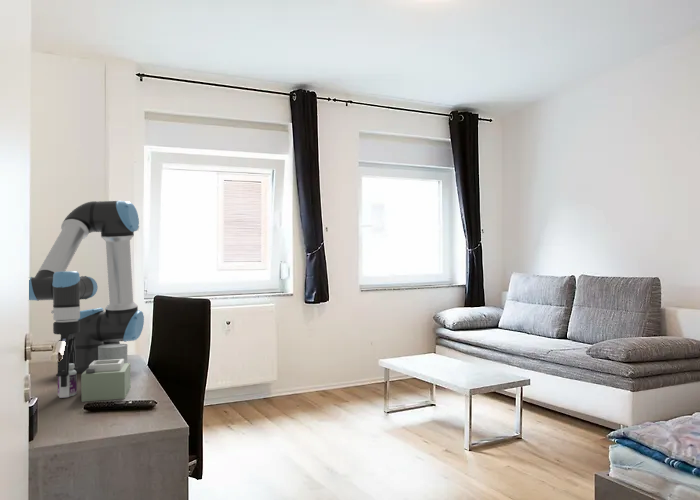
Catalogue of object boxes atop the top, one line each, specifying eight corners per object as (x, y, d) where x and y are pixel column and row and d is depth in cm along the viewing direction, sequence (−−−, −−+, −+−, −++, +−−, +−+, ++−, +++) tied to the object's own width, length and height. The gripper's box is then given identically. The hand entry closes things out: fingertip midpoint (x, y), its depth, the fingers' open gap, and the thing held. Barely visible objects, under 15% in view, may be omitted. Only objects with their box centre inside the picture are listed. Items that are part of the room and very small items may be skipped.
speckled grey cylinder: (117, 384, 196) (117, 347, 196) (92, 383, 198) (91, 347, 198) (133, 378, 205) (133, 343, 206) (109, 378, 207) (108, 343, 207)
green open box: (91, 390, 188) (90, 359, 188) (130, 387, 191) (130, 356, 191) (81, 401, 172) (81, 367, 172) (124, 398, 175) (124, 365, 175)
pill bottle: (58, 398, 178) (58, 366, 178) (56, 394, 182) (56, 363, 182) (78, 395, 181) (77, 364, 181) (75, 392, 185) (75, 361, 185)
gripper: (60, 318, 191) (61, 388, 190) (45, 324, 171) (46, 402, 171) (85, 317, 193) (86, 386, 192) (73, 323, 173) (73, 400, 173)
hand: (67, 394), depth 181 cm, fingers open, 7 cm apart
